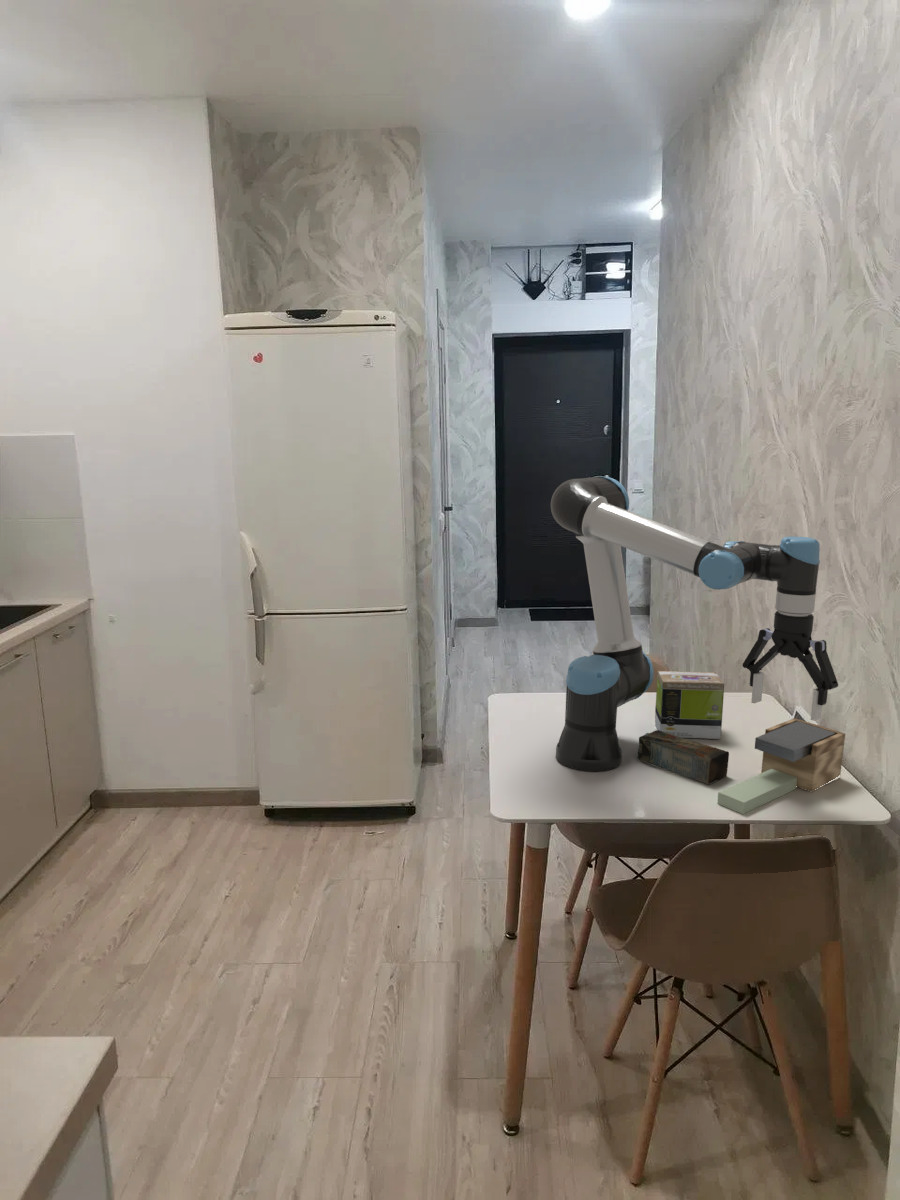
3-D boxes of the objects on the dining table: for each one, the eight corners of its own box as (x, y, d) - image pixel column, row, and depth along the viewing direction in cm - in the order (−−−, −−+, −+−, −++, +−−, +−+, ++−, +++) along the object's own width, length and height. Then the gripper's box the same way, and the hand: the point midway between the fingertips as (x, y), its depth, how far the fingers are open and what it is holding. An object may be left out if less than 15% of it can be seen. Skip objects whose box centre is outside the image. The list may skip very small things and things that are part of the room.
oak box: (811, 792, 183) (816, 746, 181) (761, 773, 193) (765, 729, 190) (839, 778, 191) (845, 733, 189) (789, 760, 200) (794, 718, 198)
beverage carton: (655, 751, 205) (657, 725, 203) (729, 777, 191) (731, 749, 190) (636, 760, 199) (637, 733, 198) (710, 787, 186) (712, 759, 184)
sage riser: (742, 814, 173) (744, 802, 172) (717, 803, 177) (718, 792, 177) (796, 788, 185) (797, 777, 185) (770, 779, 190) (771, 768, 189)
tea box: (712, 726, 221) (717, 671, 218) (720, 740, 212) (726, 683, 208) (653, 723, 223) (657, 668, 220) (658, 737, 213) (662, 680, 210)
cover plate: (793, 761, 179) (794, 750, 178) (754, 748, 186) (755, 737, 185) (834, 743, 189) (835, 732, 189) (796, 731, 196) (797, 721, 196)
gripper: (863, 620, 170) (851, 722, 174) (750, 599, 189) (743, 692, 193) (844, 626, 165) (833, 730, 170) (730, 604, 184) (723, 698, 189)
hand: (785, 710), depth 182 cm, fingers open, 13 cm apart
